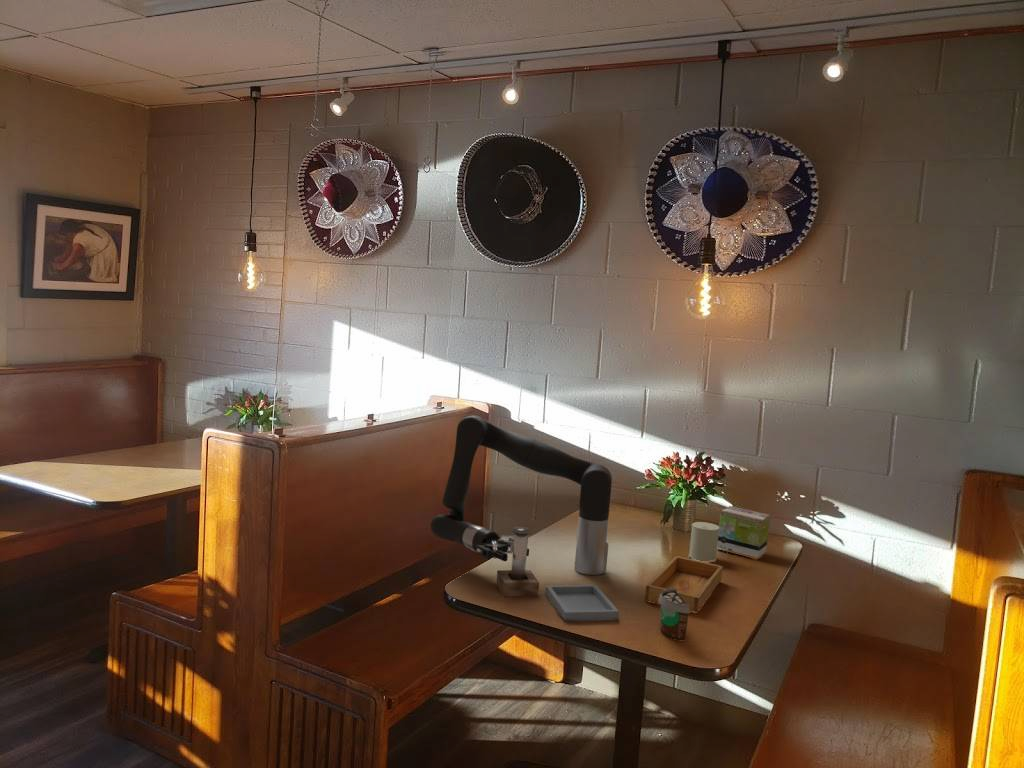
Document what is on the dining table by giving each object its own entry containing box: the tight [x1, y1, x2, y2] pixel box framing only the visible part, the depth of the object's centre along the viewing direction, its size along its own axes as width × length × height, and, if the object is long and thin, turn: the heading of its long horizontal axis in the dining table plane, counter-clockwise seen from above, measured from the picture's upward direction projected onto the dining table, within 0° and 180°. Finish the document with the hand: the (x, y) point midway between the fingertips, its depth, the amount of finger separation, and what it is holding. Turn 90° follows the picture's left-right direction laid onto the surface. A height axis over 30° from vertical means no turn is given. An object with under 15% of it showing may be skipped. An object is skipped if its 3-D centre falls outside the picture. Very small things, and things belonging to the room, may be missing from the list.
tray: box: [644, 555, 724, 613], centre depth 236 cm, size 31×15×6 cm, turn 153°
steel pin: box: [510, 526, 531, 580], centre depth 226 cm, size 5×5×18 cm
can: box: [688, 521, 719, 561], centre depth 267 cm, size 9×9×12 cm
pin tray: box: [544, 584, 620, 623], centre depth 218 cm, size 15×19×2 cm
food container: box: [658, 588, 690, 642], centre depth 205 cm, size 12×6×10 cm, turn 5°
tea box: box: [717, 505, 771, 557], centre depth 277 cm, size 15×10×15 cm
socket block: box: [496, 569, 540, 598], centre depth 227 cm, size 10×10×4 cm
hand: (517, 555), depth 227 cm, fingers open, 8 cm apart
